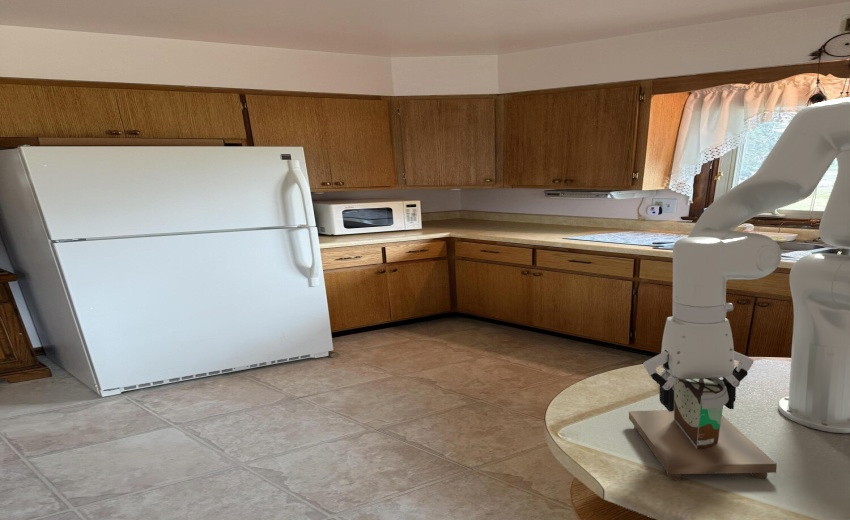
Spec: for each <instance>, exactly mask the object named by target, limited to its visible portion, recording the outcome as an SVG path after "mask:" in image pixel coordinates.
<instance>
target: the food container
mask: <svg viewBox="0 0 850 520" xmlns="http://www.w3.org/2000/svg"><path fill="white" fill-rule="evenodd" d="M672 387H673V388H672V389H673V390H674V420H675V422H676V423H677V424H678V425H679V427H680V428H681V429H682V431H683V432H684V433H685V434H686V436H687V437H688V438H689V440H690V441H691V442H692V443H693V445H694V446H695V447H696V449H706V448H710V447H713V446H714V445H716V444H717V442H718V439H719V431H720V424H721V417H722V415H723V408H724V406H725V404H726V403H727V402H728V400H729V397H728V392H727V388H726V386H725V384H724V382H723V381H722V379H720V378H702V379H678V380H677V381H676V382H675V384H674V385H673V386H672Z"/></svg>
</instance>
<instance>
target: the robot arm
mask: <svg viewBox="0 0 850 520" xmlns="http://www.w3.org/2000/svg"><path fill="white" fill-rule="evenodd" d="M835 159H836V161H837V174H836V178H835V180H834V184H833V187H832V189H831V191H830V195H829V198H828V200H827V202H826V205H825V208H824V211H823V214H822V217H821V220H820V223H819V228H818V235H819V238H820V239H821V241H822V242H823V243H825V244H827V245H828V246H832V247H834V248H840V249H846V250H850V96H848V97H843V98H837V99H831V100H826V101H821V102H817V103H813V104H810V105H808V106H805V107H804V108H802V109H801V110H799V111H798V112H797V113H796V114H795V115H794V116H793V117H792V118H791V120H790V122H789V123H788V124H787V126H786V128H785V129H784V131H783V132H782V134H781V135H780V137H779V138H778V139H777V141H776V143H775V144H774V146H773V147H772V149H771V150H770V151H769V153H768V155H767V156H766V158H765V159H764V161H763V162H762V163H761V165H760V167H759V168H758V169H757V171H756V172H754V174H752V175H751V176H750V177H748V178H746V179H744V180H743V181H742V182H740V183H738V184H737V185H736V186H734V187H732V188H730V189H729V190H728V191H727V192H725V193H724V194H722V195H721V196H719V197H718V198H716V199H715V200H714V201H713V202H712V203H711V204H710V205H708V207H706V209H705V210H704V211H703V212H702V213H701V215H700V217H699V218H698V219H697V220H696V223H695V224H694V225H693V227H692V229H691V230H690V232H689V233H688V236H687V237H684V238H680V239H678V240H676V242H674V244H673V246H672V247H673V248H672V316H668V317H666V321H665V325H664V329H663V334H662V340H661V341H662V342H661V351H660V353H659V354H657V355H655V356H653V357H651V358H649V359H647V360H645V361H643V364H642V365H643V367H644V368H645V370H646V372H647V373H648V376H650V378H651V379H652V381H654V382H656V383H657V384H658V385H659V403H660V404H661V405H663V406H664V407H665V410H668V411H669V412H671V411H674V390H673V388H672V387H673V385H674V384H675V382H676V381H677V380H678V379H702V378H719V379H720V378H721V380H722V381H723V382H724V384H725V386H726V388H727V392H728V397H729V400H728V402H727V403H726V404H725V405H724V406H725V407H726V408H727V409H729V410H734V408H735V402H736V395H737V394H736V391H737V390H736V389H737V388H738V387H740V385H741V383H740V382H742V380H744V379H745V378H746V377H747V376H748V374H749V373H748V372H749V371H750V369H751V367H752V365H754V359H752V358H751V357H749V356H747V355H744V354H742V353H741V352H737V351H735V349H734V340H733V333H732V328H731V325H730V320H729V319H728V318H726V317H727V312H732V311H733V310H734V304H733V303H732V302H727V299H726V298H727V282H728V280H758V279H761V278H764V277H766V276H769V275H771V274H772V273H773V272H775V271H776V269H778V266H779V265H780V263H781V260H782V256H783V255H782V250H781V246H780V245H779V244H778V242H777V241H775V239H773V238H772V237H769V236H767V235H764V234H761V233H756V232H746V231H738V230H736V229H737V228H738V227H739V226H741V225H742V224H743V223H745V222H747V221H748V220H750V219H752V218H754V217H757V216H759V215H761V214H765V213H768V212H771V211H774V210H778V209H782V208H785V207H787V206H790V205H794V204H796V203H798V202H800V201H804V200H805V199H807V198H808V197H809V196H811V195H812V194H813V193H814V191H815V189H816V188H817V187H818V185H819V184H820V182H821V181H822V179H823V177H824V176H825V174H826V173H827V171H828V170H829V168H830V166H831V165H832V164H833V162H834V161H835ZM735 230H736V231H735ZM788 277H789V280H788V281H789V288H790V293H791V298H792V305H793V327H792V342H791V343H792V344H791V357H790V358H791V359H790V361H791V362H790V370H789V371H790V374H789V387H788V395H787V396H785V397H782V398H780V399H779V401H778V403H777V404H778V405H777V409H778V411H779V412H780V413H781V414H782V415H783V416H784V417H786V418H788V419H789V420H791V421H793V422H795V423H797V424H800V425H802V426H804V427H807V428H811V429H815V430H818V431H822V432H823V431H824V432H828V433H833V434H850V255H849V254H848V255H847V254H846V255H845V254H840V253H825V252H821V253H820V252H819V253H811V254H807V255H804V256H803V257H800V258H799V259H798V260H796V261H795V262H794V263H793V265H792V267H791V268H790V273H789V276H788ZM735 361H737V362H738V364H737V366H735ZM660 366H661V368H662V369H664V370H663V371H662V372H661V373H660V374H659V373H658V371H657V368H658V367H660ZM734 366H735V367H734Z"/></svg>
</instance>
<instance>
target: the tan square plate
mask: <svg viewBox="0 0 850 520" xmlns="http://www.w3.org/2000/svg"><path fill="white" fill-rule="evenodd" d="M628 420H630V422H631V423H632V425H633V429H634V431H635V432H638V433H639V435H640V436H641V438H642V439H643V440H644V442H645V443H646V445H647V446H648V447H649V449H650V450H651V451H652V453H653V454H654V456H655V457H656V458H657V460H658V461H659V463H660V465H661V466H662V467H663V468H664V470H665V471H666V476H667V478H668V479H670V480H671V481H680V480H681V479H682V475H687V474H688V475H691V474H693V475H695V474H696V475H697V474H702V475H704V474H705V475H707V474H751V476H752V477H754V478H756V479H759V480H766V479H768V473H771V474H775V473H777V467H778V465H777V462H775V461H774V460H773V459H772V458H771V457H770V456H768V455H767V454H766V453H765V452H764V451H763V450H762V449H761V448H760V447H759V446H757V444H755V443H754V442H753V441H752V440H751V439H750V438H748V436H747V435H745V434H744V433H743V432H742V431H740V430H739V429H738V428H737V427H736V426H735V425H734V424H733V423H732V422H731V421H730V420H728V419H727V418H726V417H725V416H724V415H723V414H722V417H721V424H720V431H719V439H718V442H717V444H716V445H714V446H713V447H710V448H706V449H696V447H695V446H694V445H693V443H692V442H691V441H690V440H689V438H688V437H687V436H686V434H685V433H684V432H683V431H682V429H681V428H680V427H679V425H678V424H677V423H676V422H675V420H674V411H671V412H669V411H668V410H667V409H660V410H659V409H657V410H630V411H628Z"/></svg>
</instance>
